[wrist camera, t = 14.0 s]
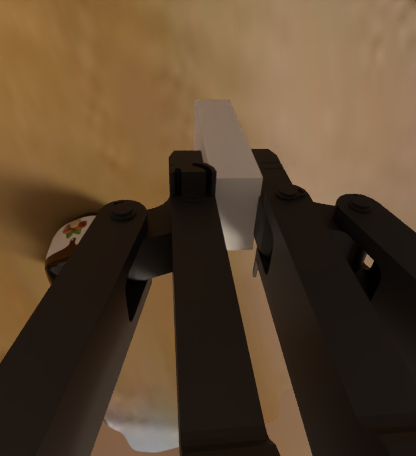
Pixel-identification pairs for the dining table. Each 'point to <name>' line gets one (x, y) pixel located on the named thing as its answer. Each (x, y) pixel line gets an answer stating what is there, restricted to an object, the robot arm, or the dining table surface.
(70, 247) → the spread jar
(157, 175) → the dining table surface
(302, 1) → the dining table surface
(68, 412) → the robot arm
